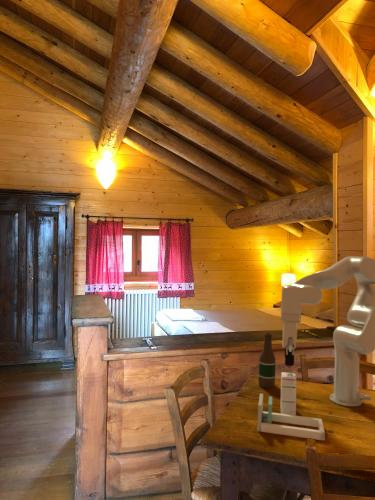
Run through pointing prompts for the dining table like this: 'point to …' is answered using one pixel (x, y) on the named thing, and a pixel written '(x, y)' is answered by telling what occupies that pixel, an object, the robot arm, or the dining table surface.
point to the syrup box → (288, 393)
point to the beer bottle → (267, 364)
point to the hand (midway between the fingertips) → (289, 361)
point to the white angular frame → (292, 420)
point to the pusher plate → (269, 412)
